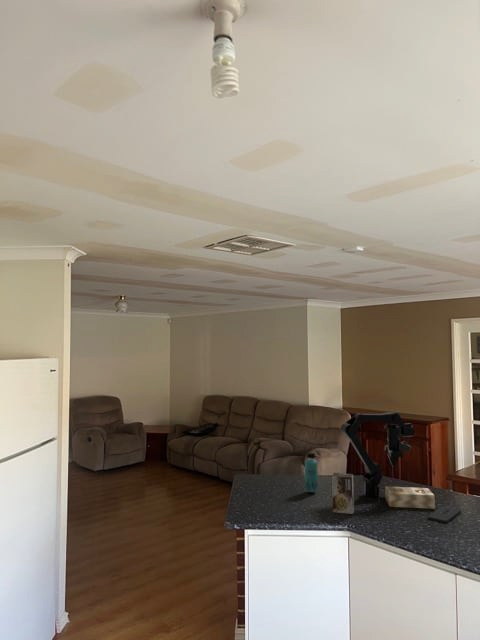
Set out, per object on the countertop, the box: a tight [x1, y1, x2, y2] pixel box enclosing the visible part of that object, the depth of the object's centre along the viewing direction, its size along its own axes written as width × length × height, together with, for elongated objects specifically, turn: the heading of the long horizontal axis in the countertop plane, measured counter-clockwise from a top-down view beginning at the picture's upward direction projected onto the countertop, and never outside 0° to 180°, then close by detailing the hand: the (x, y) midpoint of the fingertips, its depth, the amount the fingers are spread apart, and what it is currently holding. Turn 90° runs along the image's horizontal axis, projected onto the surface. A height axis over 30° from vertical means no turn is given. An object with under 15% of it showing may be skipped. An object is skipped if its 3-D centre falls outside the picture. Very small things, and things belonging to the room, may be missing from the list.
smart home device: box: [427, 505, 462, 524], centre depth 205 cm, size 8×2×20 cm
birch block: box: [384, 485, 436, 510], centre depth 222 cm, size 20×12×6 cm, turn 82°
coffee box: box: [331, 472, 355, 515], centre depth 211 cm, size 9×6×16 cm
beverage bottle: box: [304, 452, 318, 492], centre depth 240 cm, size 6×7×20 cm
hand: (394, 468), depth 238 cm, fingers closed
